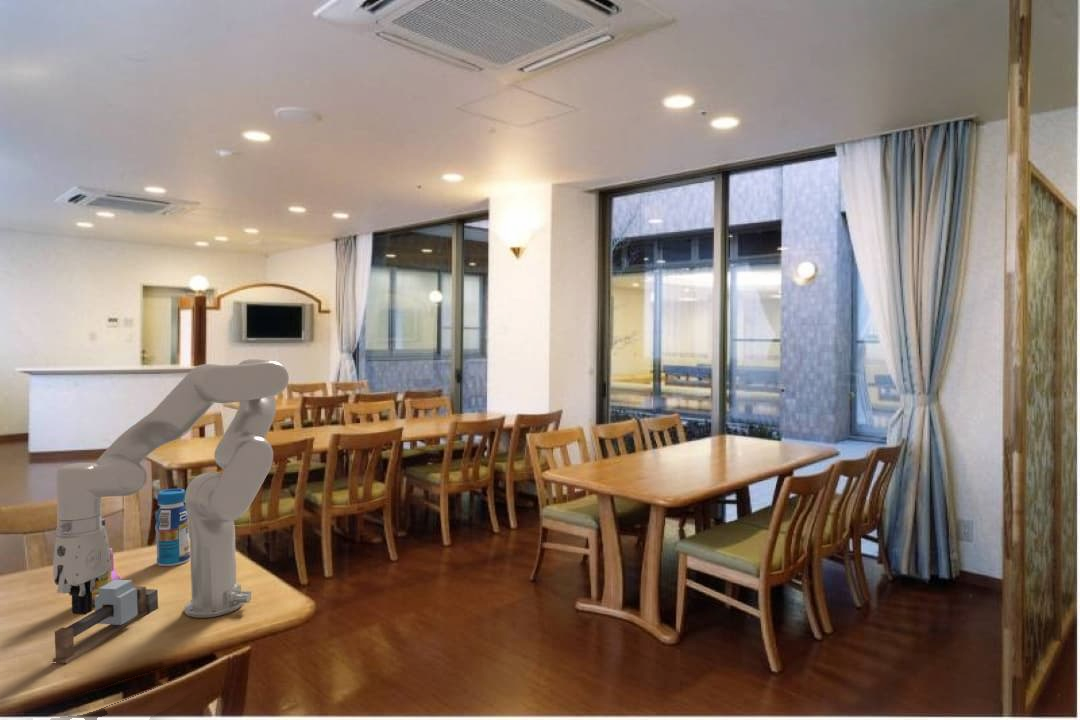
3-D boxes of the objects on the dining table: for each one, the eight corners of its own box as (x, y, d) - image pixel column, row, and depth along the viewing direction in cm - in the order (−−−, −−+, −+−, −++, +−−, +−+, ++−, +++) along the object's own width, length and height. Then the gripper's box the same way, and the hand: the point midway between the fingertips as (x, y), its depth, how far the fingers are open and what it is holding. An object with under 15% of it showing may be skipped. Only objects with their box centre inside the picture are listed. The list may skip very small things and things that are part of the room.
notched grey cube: (137, 614, 149) (136, 580, 149) (121, 624, 144) (120, 589, 144) (112, 613, 150) (111, 579, 149) (95, 623, 145) (94, 588, 144)
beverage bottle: (151, 562, 187) (148, 491, 186) (183, 554, 194) (180, 485, 193) (163, 569, 182) (161, 496, 181) (195, 561, 188) (193, 490, 187)
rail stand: (158, 607, 157) (157, 580, 157) (69, 664, 132) (67, 631, 131) (142, 607, 158) (141, 580, 158) (50, 663, 132) (49, 631, 132)
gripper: (67, 536, 129) (69, 630, 130) (123, 515, 144) (125, 599, 145) (31, 534, 130) (34, 627, 131) (91, 513, 145) (93, 597, 146)
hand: (82, 612), depth 138 cm, fingers closed
